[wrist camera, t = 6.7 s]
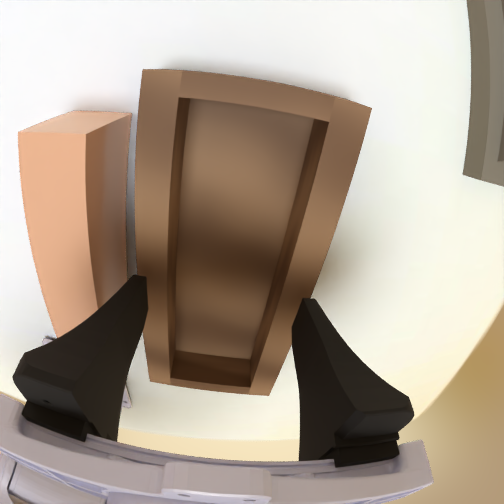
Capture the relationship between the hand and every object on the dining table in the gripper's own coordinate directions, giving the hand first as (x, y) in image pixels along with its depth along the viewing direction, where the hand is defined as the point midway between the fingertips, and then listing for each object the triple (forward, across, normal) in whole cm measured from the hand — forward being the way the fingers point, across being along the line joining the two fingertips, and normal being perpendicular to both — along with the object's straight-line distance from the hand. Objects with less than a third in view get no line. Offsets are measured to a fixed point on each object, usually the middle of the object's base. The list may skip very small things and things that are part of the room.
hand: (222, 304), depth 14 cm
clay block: (+5, +8, 0) cm, 9 cm away
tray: (+4, 0, 0) cm, 4 cm away
